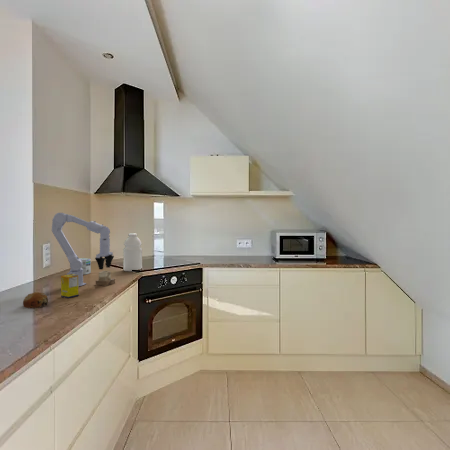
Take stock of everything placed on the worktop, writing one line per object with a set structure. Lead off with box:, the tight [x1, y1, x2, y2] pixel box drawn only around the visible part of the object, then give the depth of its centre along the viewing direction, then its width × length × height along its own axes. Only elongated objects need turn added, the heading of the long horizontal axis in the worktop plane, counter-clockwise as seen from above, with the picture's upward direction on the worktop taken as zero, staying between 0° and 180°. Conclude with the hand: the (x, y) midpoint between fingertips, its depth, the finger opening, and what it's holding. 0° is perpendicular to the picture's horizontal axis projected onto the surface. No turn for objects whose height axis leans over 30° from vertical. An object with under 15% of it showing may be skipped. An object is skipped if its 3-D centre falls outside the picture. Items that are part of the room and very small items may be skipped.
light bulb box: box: [78, 257, 92, 275], centre depth 231 cm, size 11×7×11 cm, turn 84°
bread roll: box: [22, 291, 49, 309], centre depth 149 cm, size 10×10×8 cm
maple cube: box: [98, 270, 112, 281], centre depth 197 cm, size 5×5×5 cm
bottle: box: [122, 232, 143, 272], centre depth 249 cm, size 14×14×28 cm
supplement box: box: [60, 274, 79, 299], centre depth 166 cm, size 6×6×11 cm
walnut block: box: [95, 278, 116, 287], centre depth 197 cm, size 8×8×3 cm
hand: (104, 268), depth 198 cm, fingers open, 7 cm apart
